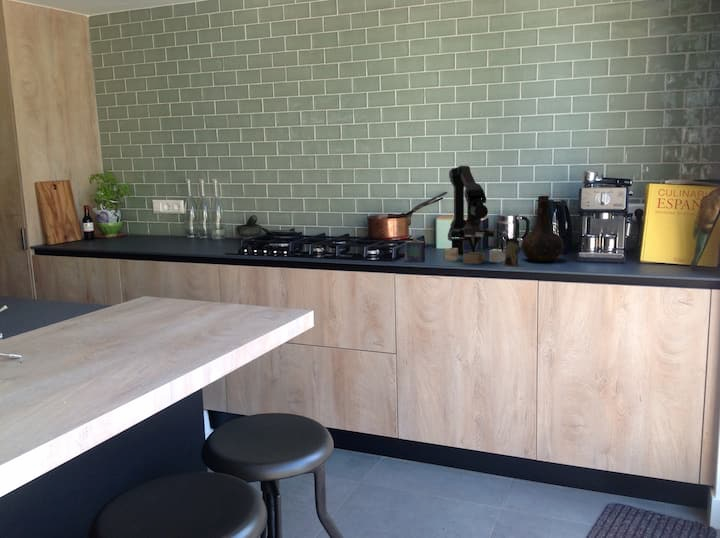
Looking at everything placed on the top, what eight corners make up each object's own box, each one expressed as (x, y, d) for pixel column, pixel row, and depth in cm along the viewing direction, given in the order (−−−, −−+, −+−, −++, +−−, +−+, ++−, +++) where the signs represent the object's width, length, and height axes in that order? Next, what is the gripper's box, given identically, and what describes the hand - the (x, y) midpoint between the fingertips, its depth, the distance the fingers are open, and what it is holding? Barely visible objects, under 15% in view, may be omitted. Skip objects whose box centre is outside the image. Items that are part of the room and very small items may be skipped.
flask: (404, 261, 298) (403, 237, 296) (406, 260, 300) (406, 236, 298) (423, 262, 294) (423, 238, 292) (426, 261, 296) (425, 237, 294)
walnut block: (470, 260, 296) (470, 251, 296) (484, 261, 292) (484, 252, 292) (462, 263, 291) (462, 254, 290) (477, 264, 287) (477, 255, 286)
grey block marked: (494, 260, 296) (495, 248, 295) (505, 261, 293) (505, 249, 292) (489, 261, 292) (489, 250, 291) (499, 262, 289) (499, 251, 288)
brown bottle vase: (539, 265, 279) (540, 198, 274) (512, 259, 295) (513, 195, 290) (572, 261, 286) (574, 195, 281) (545, 255, 302) (546, 193, 298)
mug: (520, 265, 281) (521, 236, 279) (512, 266, 277) (513, 238, 275) (505, 263, 287) (505, 235, 285) (497, 264, 283) (497, 236, 281)
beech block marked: (446, 258, 302) (446, 247, 301) (457, 259, 301) (457, 247, 300) (445, 260, 297) (445, 249, 296) (456, 261, 296) (456, 249, 295)
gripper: (447, 217, 285) (447, 253, 288) (490, 218, 277) (490, 255, 280) (455, 215, 295) (455, 250, 298) (497, 215, 287) (496, 251, 290)
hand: (473, 251), depth 291 cm, fingers closed
